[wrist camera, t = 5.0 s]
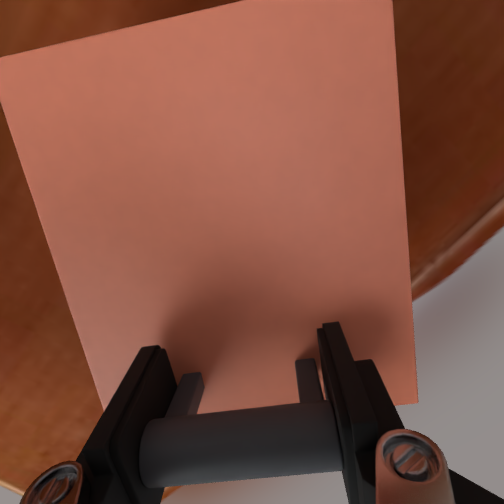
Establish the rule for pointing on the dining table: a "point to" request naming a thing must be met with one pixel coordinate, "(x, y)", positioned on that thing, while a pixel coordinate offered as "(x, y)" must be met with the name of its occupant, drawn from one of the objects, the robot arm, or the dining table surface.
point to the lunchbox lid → (226, 218)
